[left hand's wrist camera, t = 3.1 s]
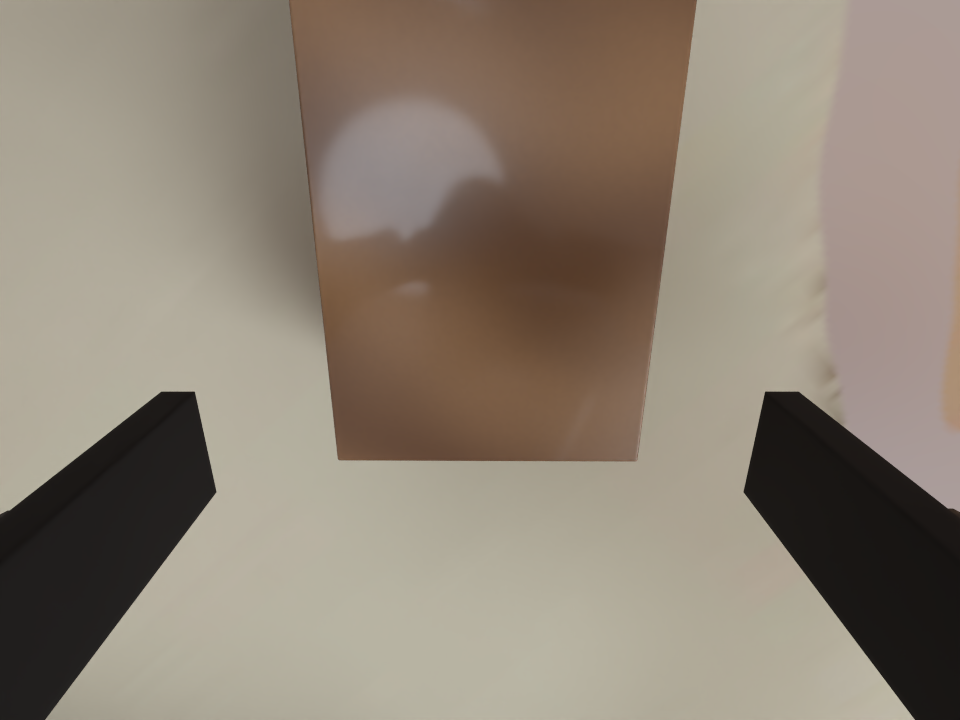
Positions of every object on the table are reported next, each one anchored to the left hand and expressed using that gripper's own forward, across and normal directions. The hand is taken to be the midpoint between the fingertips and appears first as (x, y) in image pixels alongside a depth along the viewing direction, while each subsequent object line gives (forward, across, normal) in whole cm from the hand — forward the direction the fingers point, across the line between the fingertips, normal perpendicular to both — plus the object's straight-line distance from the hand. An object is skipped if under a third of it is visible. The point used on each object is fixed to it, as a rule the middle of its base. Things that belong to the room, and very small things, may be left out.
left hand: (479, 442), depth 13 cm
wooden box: (+13, 0, -5) cm, 14 cm away
